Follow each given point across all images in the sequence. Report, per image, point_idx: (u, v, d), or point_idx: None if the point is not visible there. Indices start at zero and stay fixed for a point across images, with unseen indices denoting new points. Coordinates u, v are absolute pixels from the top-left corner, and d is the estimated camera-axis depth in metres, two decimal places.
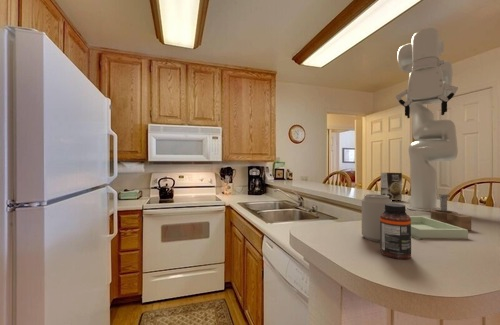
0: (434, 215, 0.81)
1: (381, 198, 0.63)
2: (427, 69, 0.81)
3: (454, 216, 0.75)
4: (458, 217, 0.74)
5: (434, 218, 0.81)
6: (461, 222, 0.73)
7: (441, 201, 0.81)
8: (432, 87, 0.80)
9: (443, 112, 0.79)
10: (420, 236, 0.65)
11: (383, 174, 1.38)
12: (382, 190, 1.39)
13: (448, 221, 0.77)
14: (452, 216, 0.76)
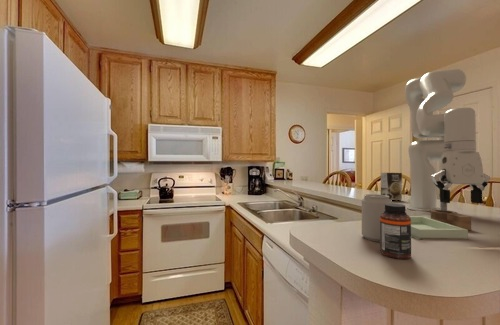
0: (434, 215, 0.81)
1: (381, 198, 0.63)
2: None
3: (454, 216, 0.75)
4: (458, 217, 0.74)
5: (434, 218, 0.81)
6: (461, 222, 0.73)
7: None
8: None
9: None
10: (420, 236, 0.65)
11: (383, 174, 1.38)
12: (382, 190, 1.39)
13: (448, 221, 0.77)
14: (452, 216, 0.76)
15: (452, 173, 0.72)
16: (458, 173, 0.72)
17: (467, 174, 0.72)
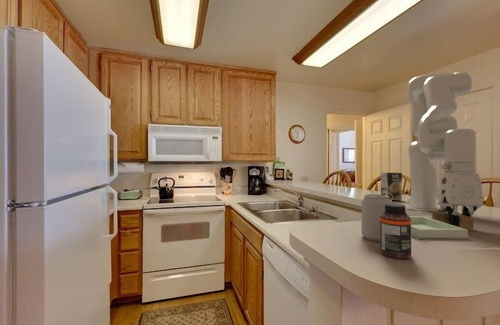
0: (436, 215, 0.80)
1: (381, 198, 0.63)
2: None
3: None
4: (460, 218, 0.73)
5: (435, 218, 0.80)
6: (463, 223, 0.72)
7: None
8: None
9: None
10: (420, 236, 0.65)
11: (383, 174, 1.38)
12: (382, 190, 1.39)
13: None
14: None
15: (451, 195, 0.73)
16: (457, 195, 0.72)
17: (466, 196, 0.72)
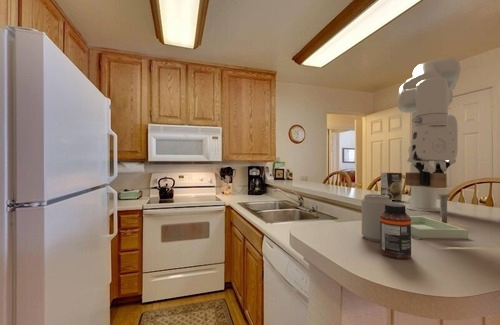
0: (408, 176, 0.74)
1: (381, 198, 0.63)
2: None
3: None
4: (432, 174, 0.67)
5: (408, 180, 0.74)
6: (435, 179, 0.66)
7: (441, 201, 0.81)
8: None
9: None
10: (420, 236, 0.65)
11: (383, 174, 1.38)
12: (382, 190, 1.39)
13: None
14: None
15: (422, 149, 0.67)
16: (428, 149, 0.67)
17: (438, 149, 0.67)
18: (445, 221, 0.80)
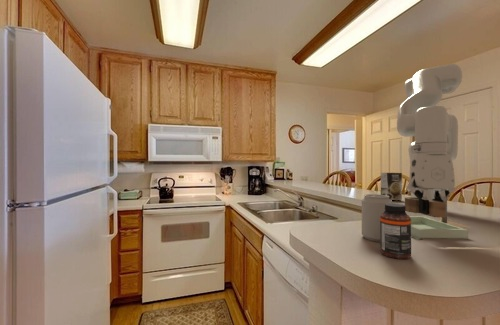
0: (408, 202, 0.74)
1: (381, 198, 0.63)
2: None
3: None
4: (431, 203, 0.67)
5: (408, 206, 0.74)
6: (434, 209, 0.66)
7: None
8: None
9: None
10: (420, 236, 0.65)
11: (383, 174, 1.38)
12: (382, 190, 1.39)
13: None
14: None
15: (421, 177, 0.67)
16: (427, 177, 0.66)
17: (437, 178, 0.66)
18: (445, 221, 0.80)
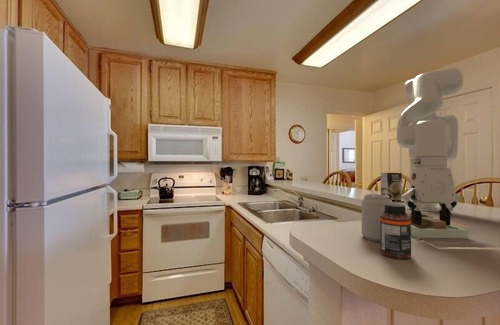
0: None
1: (381, 198, 0.63)
2: None
3: (428, 221, 0.68)
4: (431, 222, 0.67)
5: None
6: (435, 228, 0.66)
7: None
8: None
9: None
10: (420, 236, 0.65)
11: (383, 174, 1.38)
12: (382, 190, 1.39)
13: (422, 226, 0.70)
14: (426, 221, 0.69)
15: (421, 191, 0.67)
16: (427, 191, 0.67)
17: (437, 192, 0.67)
18: None
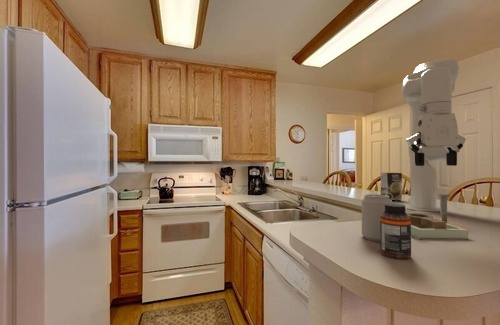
0: None
1: (381, 198, 0.63)
2: None
3: (428, 221, 0.68)
4: (431, 222, 0.67)
5: None
6: (435, 228, 0.66)
7: (441, 201, 0.81)
8: None
9: None
10: (420, 236, 0.65)
11: (383, 174, 1.38)
12: (382, 190, 1.39)
13: (422, 226, 0.70)
14: (426, 221, 0.69)
15: (426, 135, 0.71)
16: (432, 135, 0.71)
17: (441, 136, 0.71)
18: (445, 221, 0.80)
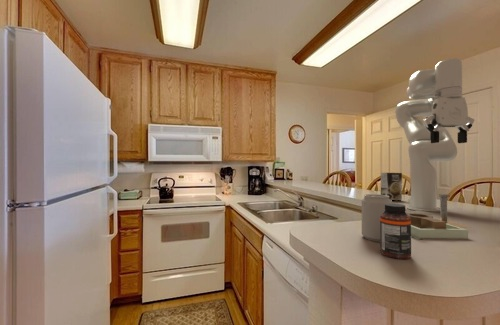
0: None
1: (381, 198, 0.63)
2: None
3: (428, 221, 0.68)
4: (431, 222, 0.67)
5: None
6: (435, 228, 0.66)
7: (441, 201, 0.81)
8: None
9: None
10: (420, 236, 0.65)
11: (383, 174, 1.38)
12: (382, 190, 1.39)
13: (422, 226, 0.70)
14: (426, 221, 0.69)
15: (441, 116, 0.83)
16: (446, 115, 0.83)
17: (454, 116, 0.83)
18: (445, 221, 0.80)
